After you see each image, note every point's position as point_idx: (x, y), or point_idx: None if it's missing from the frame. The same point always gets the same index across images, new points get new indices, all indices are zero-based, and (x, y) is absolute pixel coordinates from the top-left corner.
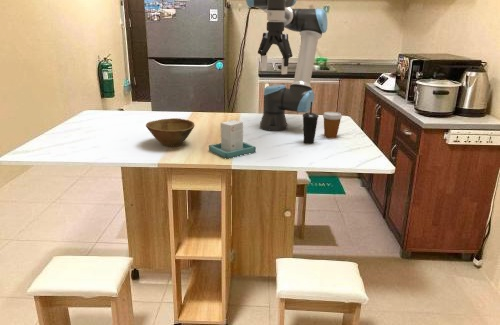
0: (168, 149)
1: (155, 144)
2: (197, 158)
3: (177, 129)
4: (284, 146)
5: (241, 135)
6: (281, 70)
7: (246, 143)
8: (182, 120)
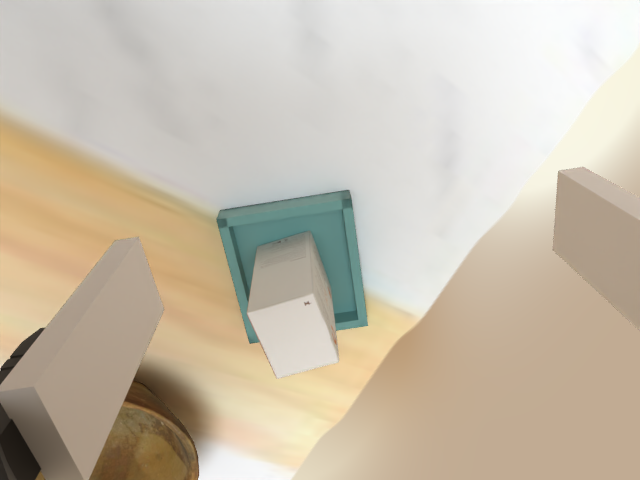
0: None
1: None
2: (310, 382)
3: None
4: (335, 16)
5: (315, 268)
6: (578, 273)
7: (288, 210)
8: None
